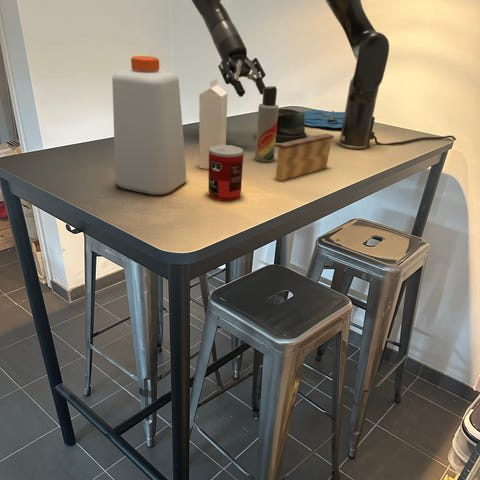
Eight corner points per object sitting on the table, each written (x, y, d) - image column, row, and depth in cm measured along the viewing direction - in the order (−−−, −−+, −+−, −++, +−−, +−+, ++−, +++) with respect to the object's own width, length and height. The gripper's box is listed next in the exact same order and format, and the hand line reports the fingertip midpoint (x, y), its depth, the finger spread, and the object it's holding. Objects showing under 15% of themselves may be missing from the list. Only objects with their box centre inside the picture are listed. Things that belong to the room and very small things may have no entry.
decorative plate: (311, 136, 169) (313, 121, 166) (277, 116, 192) (278, 102, 188) (378, 129, 178) (381, 115, 175) (338, 111, 200) (340, 98, 197)
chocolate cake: (279, 126, 170) (326, 138, 161) (250, 159, 165) (296, 174, 156) (272, 89, 158) (322, 100, 148) (240, 123, 152) (290, 138, 143)
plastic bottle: (109, 187, 112) (94, 57, 96) (141, 170, 124) (133, 51, 107) (164, 199, 108) (158, 64, 92) (192, 180, 120) (191, 58, 104)
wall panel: (321, 165, 136) (326, 133, 131) (328, 168, 135) (333, 135, 130) (273, 178, 125) (277, 143, 119) (280, 181, 123) (284, 146, 118)
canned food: (207, 189, 115) (208, 144, 109) (239, 190, 116) (241, 145, 110) (208, 200, 109) (209, 153, 103) (242, 201, 110) (244, 154, 103)
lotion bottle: (272, 163, 136) (279, 88, 124) (253, 161, 136) (258, 86, 125) (274, 158, 140) (281, 85, 129) (256, 155, 141) (262, 83, 129)
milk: (199, 168, 129) (198, 80, 116) (205, 162, 133) (205, 77, 120) (219, 170, 127) (221, 82, 115) (225, 164, 132) (228, 79, 119)
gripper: (216, 33, 125) (242, 87, 125) (253, 33, 133) (278, 83, 133) (203, 53, 131) (228, 104, 131) (239, 52, 139) (263, 100, 139)
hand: (253, 93), depth 132 cm, fingers open, 8 cm apart
